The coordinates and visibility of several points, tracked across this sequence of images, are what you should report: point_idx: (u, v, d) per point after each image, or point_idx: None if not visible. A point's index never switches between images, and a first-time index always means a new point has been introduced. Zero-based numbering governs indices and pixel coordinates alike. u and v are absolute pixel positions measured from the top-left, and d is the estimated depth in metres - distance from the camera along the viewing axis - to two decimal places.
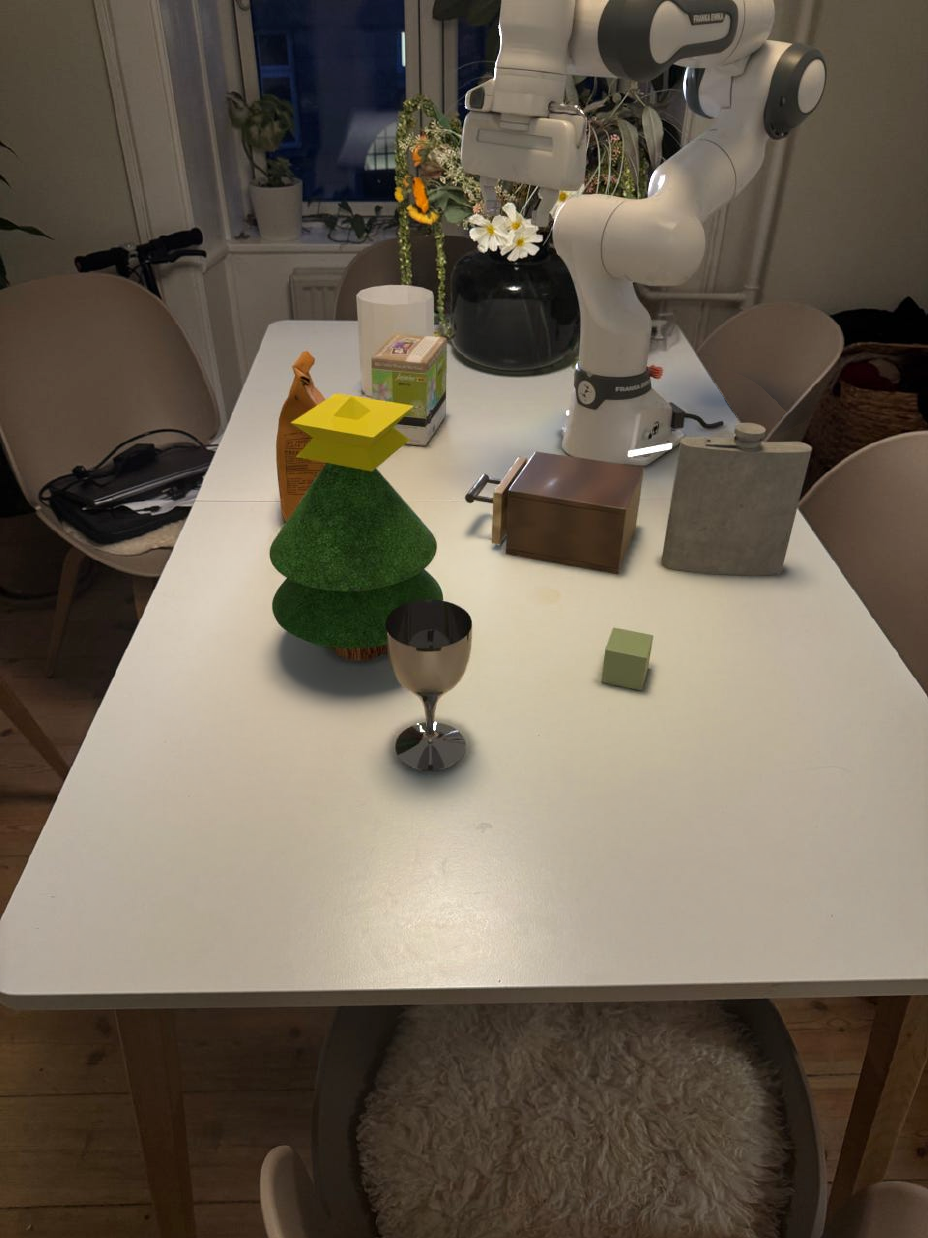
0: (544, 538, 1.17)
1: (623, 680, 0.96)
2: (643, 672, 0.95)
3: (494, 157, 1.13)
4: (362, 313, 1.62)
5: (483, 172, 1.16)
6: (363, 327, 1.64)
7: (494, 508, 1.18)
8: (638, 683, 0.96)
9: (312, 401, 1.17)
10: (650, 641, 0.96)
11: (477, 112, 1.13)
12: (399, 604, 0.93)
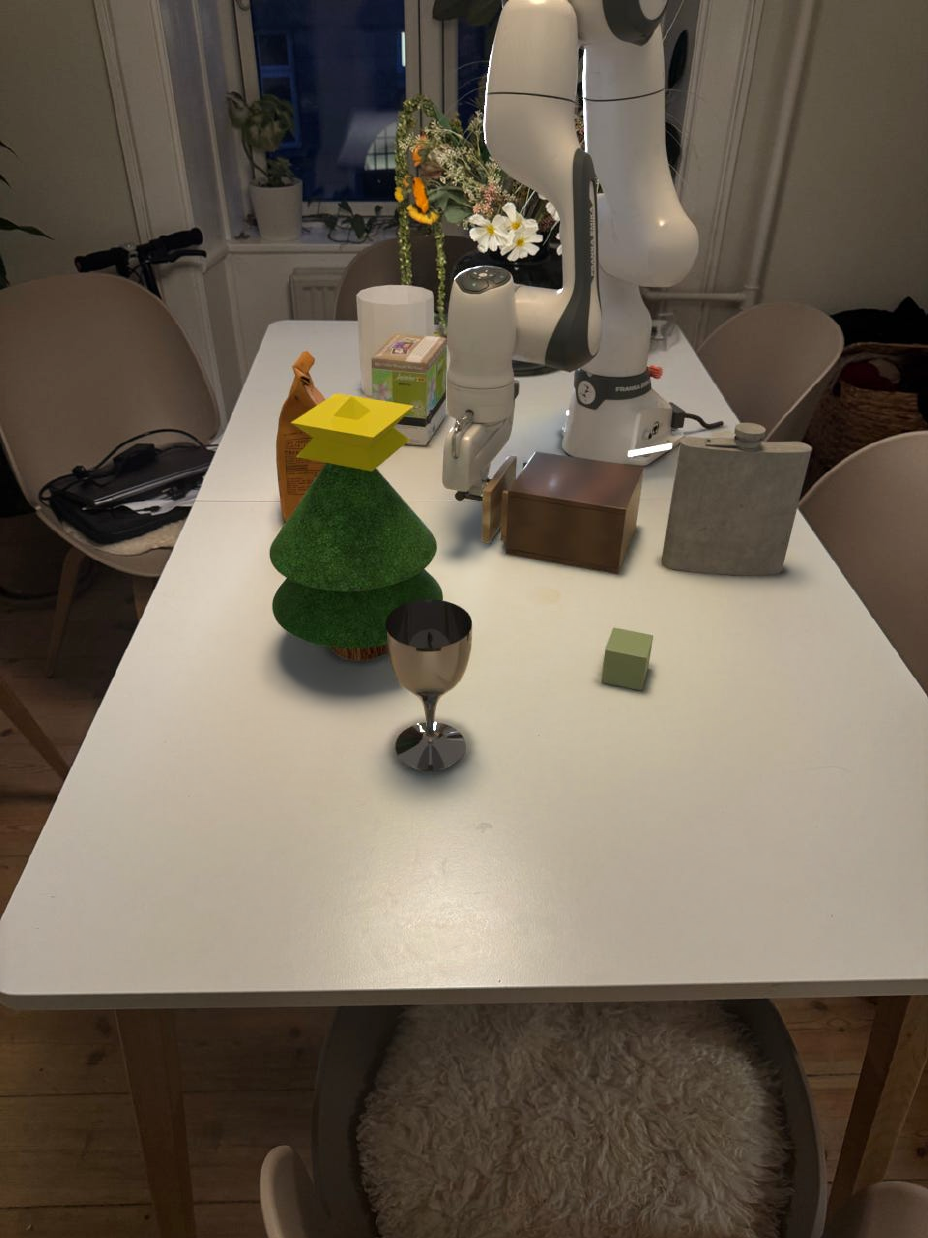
0: (544, 538, 1.17)
1: (623, 680, 0.96)
2: (643, 672, 0.95)
3: None
4: (362, 313, 1.62)
5: None
6: (363, 327, 1.64)
7: (483, 506, 1.18)
8: (638, 683, 0.96)
9: (312, 401, 1.17)
10: (650, 641, 0.96)
11: None
12: (399, 604, 0.93)
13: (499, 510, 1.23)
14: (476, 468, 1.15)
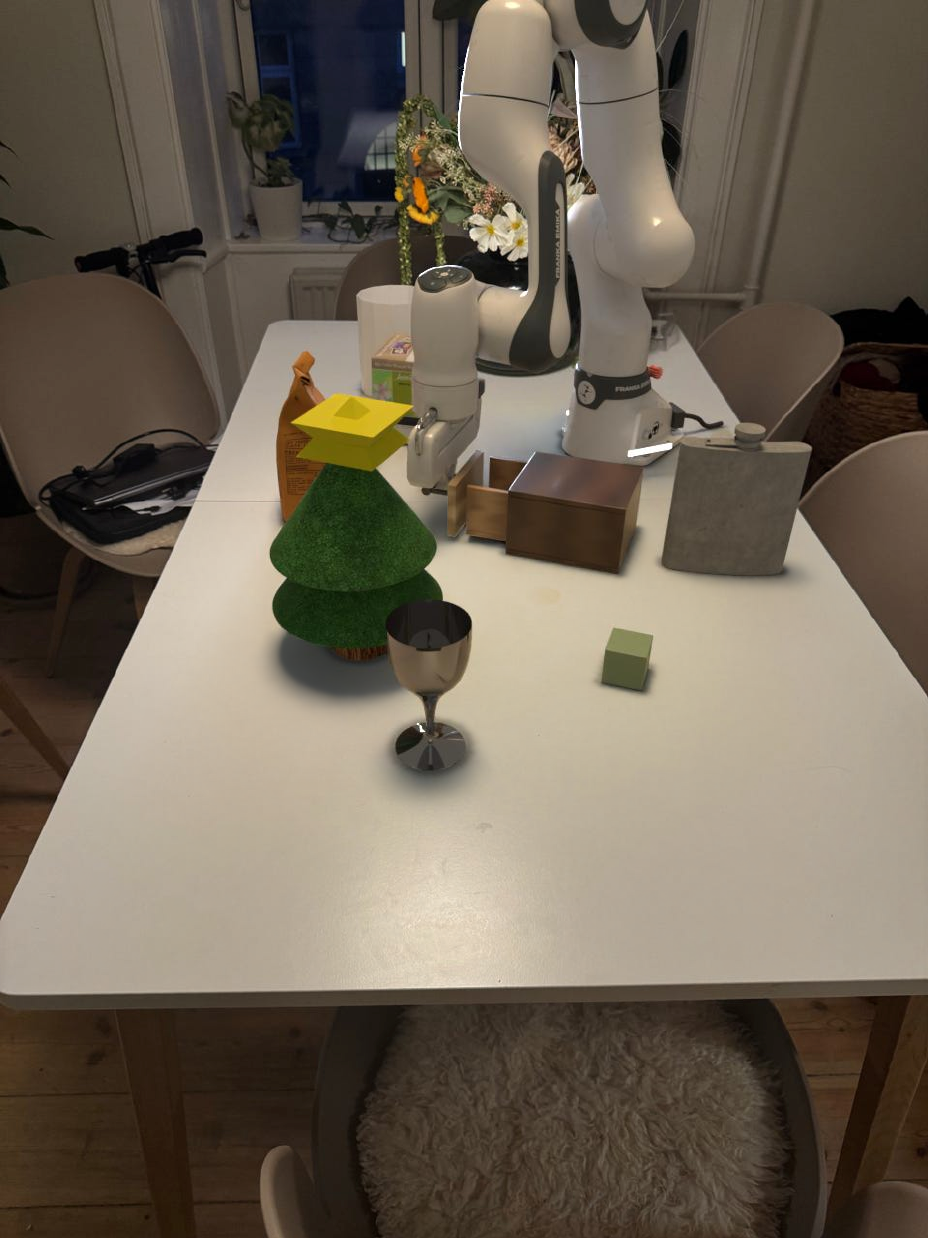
0: (544, 538, 1.17)
1: (623, 680, 0.96)
2: (643, 672, 0.95)
3: None
4: (362, 313, 1.62)
5: None
6: (363, 327, 1.64)
7: (449, 500, 1.20)
8: (638, 683, 0.96)
9: (312, 401, 1.17)
10: (650, 641, 0.96)
11: None
12: (399, 604, 0.93)
13: (465, 505, 1.24)
14: (440, 464, 1.17)
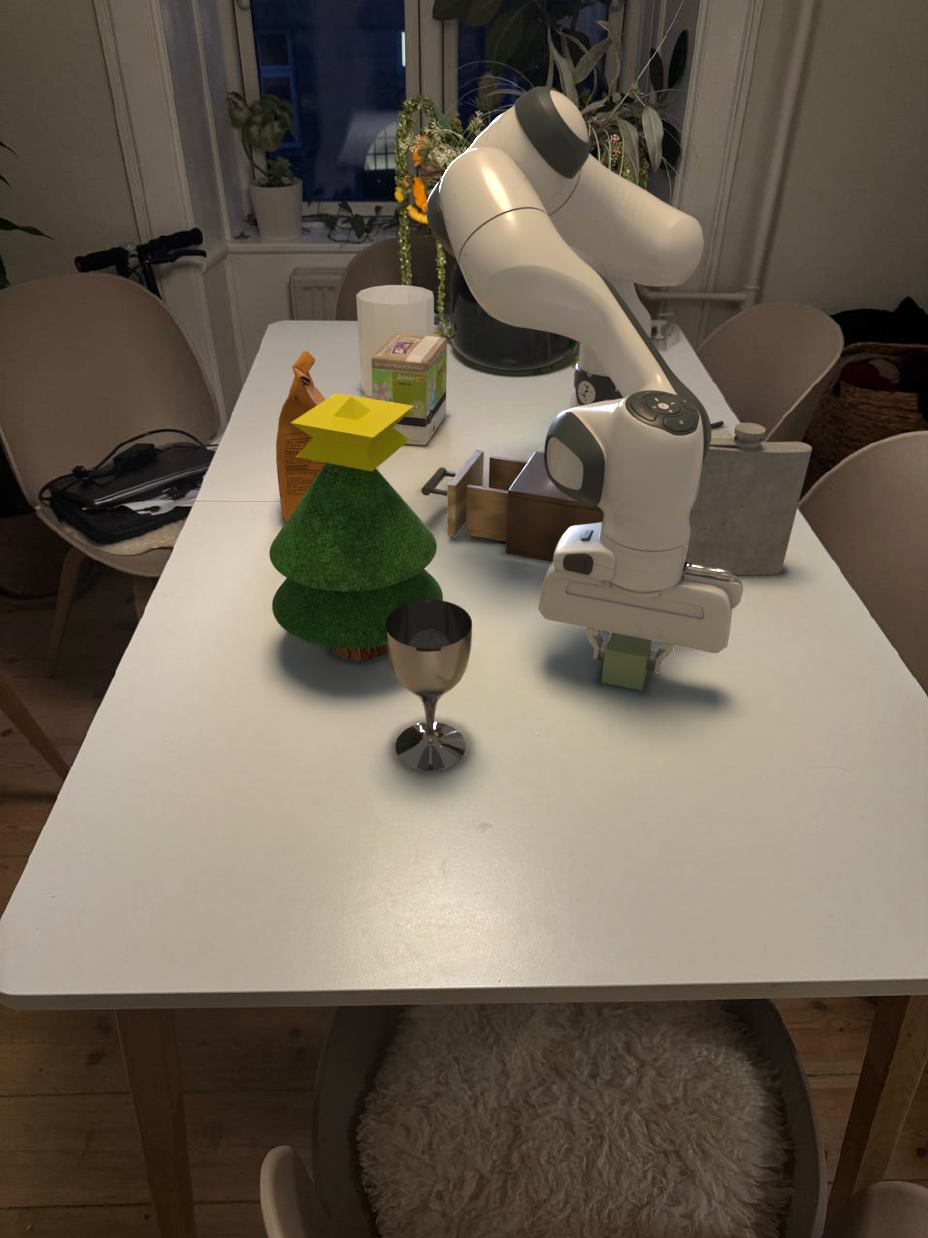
0: (544, 538, 1.17)
1: (623, 680, 0.96)
2: (643, 672, 0.95)
3: (602, 613, 0.93)
4: (362, 313, 1.62)
5: (582, 624, 0.95)
6: (363, 327, 1.64)
7: (448, 500, 1.20)
8: (638, 683, 0.96)
9: (312, 401, 1.17)
10: (650, 641, 0.96)
11: (574, 573, 0.90)
12: (399, 604, 0.93)
13: (465, 505, 1.24)
14: None
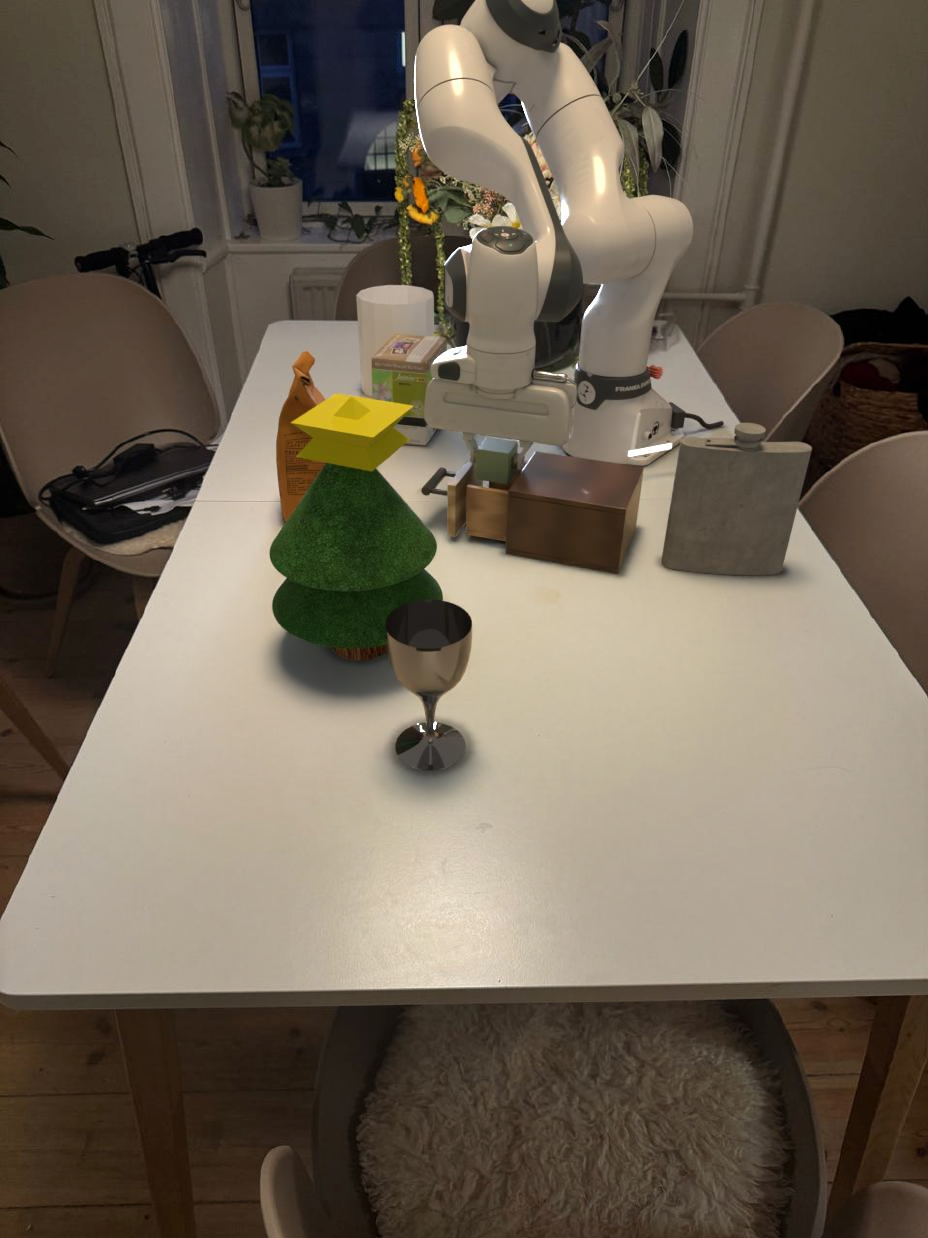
0: (544, 538, 1.17)
1: (492, 476, 1.20)
2: (507, 467, 1.18)
3: (472, 417, 1.17)
4: (362, 313, 1.62)
5: (458, 429, 1.18)
6: (363, 327, 1.64)
7: (448, 500, 1.20)
8: (504, 477, 1.19)
9: (312, 401, 1.17)
10: (514, 444, 1.20)
11: (447, 381, 1.14)
12: (399, 604, 0.93)
13: (465, 505, 1.24)
14: None
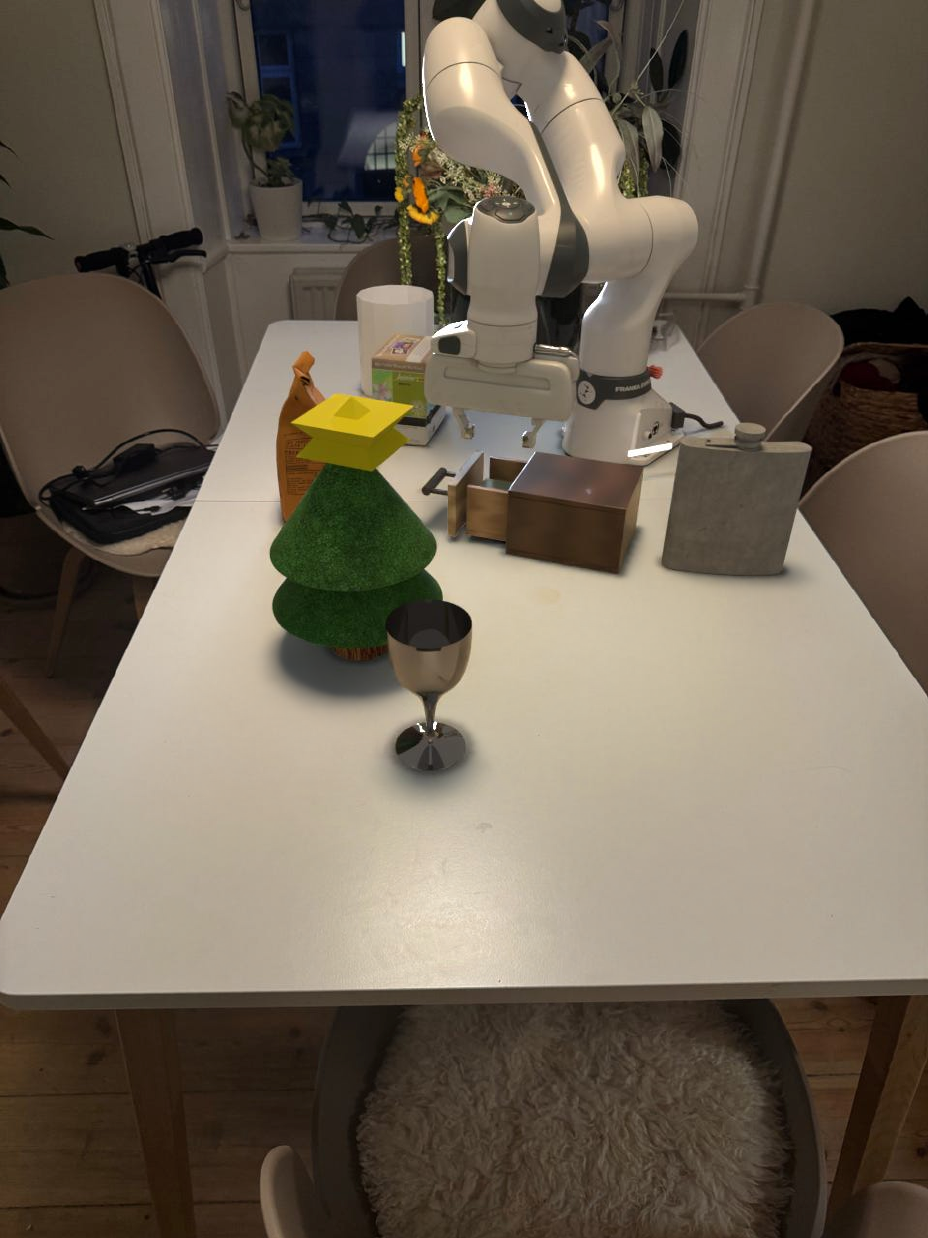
0: (544, 538, 1.17)
1: None
2: None
3: (473, 393, 1.15)
4: (362, 313, 1.62)
5: (458, 405, 1.16)
6: (363, 327, 1.64)
7: (449, 500, 1.20)
8: None
9: (312, 401, 1.17)
10: None
11: (448, 356, 1.12)
12: (399, 604, 0.93)
13: (465, 505, 1.24)
14: None
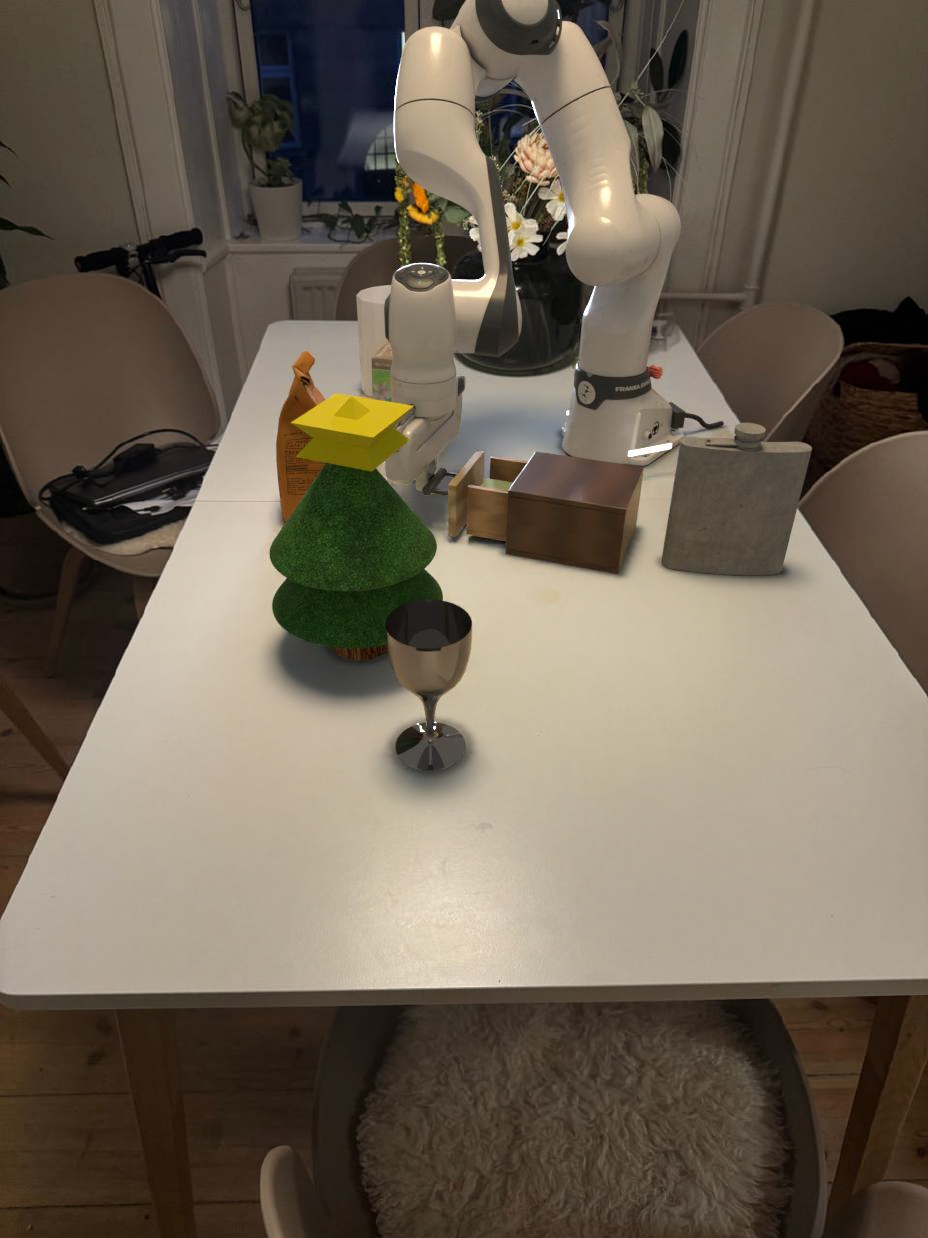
0: (544, 538, 1.17)
1: None
2: None
3: None
4: (362, 313, 1.62)
5: None
6: (363, 327, 1.64)
7: (449, 501, 1.20)
8: None
9: (312, 401, 1.17)
10: None
11: None
12: (399, 604, 0.93)
13: (466, 505, 1.24)
14: (419, 461, 1.18)
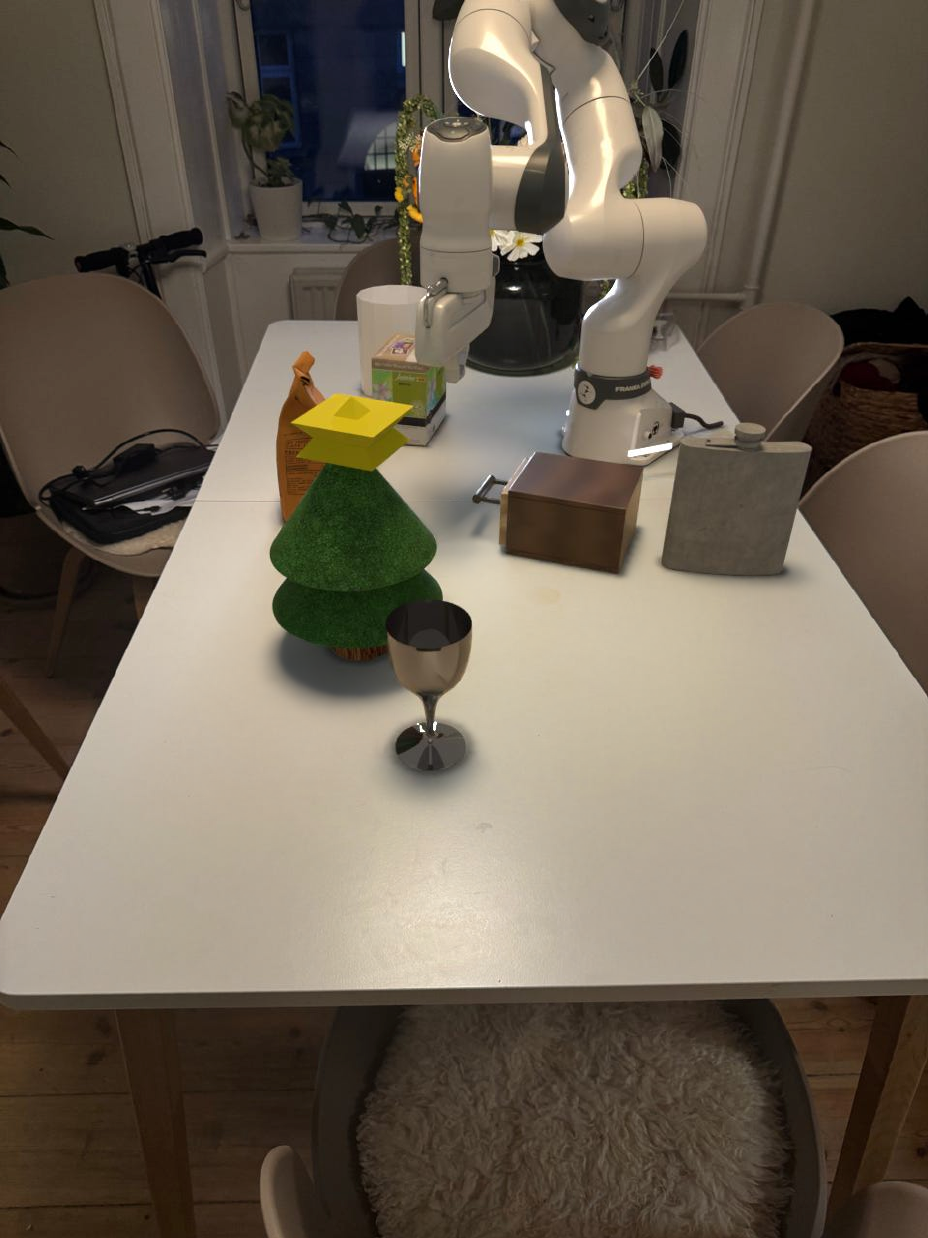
0: (544, 538, 1.17)
1: None
2: None
3: None
4: (362, 313, 1.62)
5: None
6: (363, 327, 1.64)
7: (501, 509, 1.18)
8: None
9: (312, 401, 1.17)
10: None
11: None
12: (399, 604, 0.93)
13: None
14: (451, 342, 1.07)
